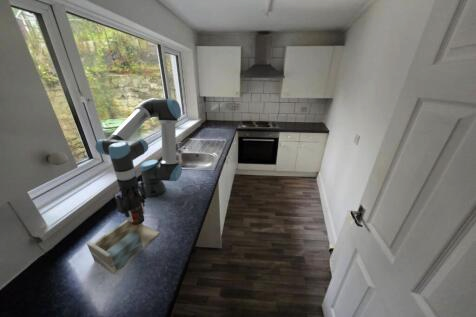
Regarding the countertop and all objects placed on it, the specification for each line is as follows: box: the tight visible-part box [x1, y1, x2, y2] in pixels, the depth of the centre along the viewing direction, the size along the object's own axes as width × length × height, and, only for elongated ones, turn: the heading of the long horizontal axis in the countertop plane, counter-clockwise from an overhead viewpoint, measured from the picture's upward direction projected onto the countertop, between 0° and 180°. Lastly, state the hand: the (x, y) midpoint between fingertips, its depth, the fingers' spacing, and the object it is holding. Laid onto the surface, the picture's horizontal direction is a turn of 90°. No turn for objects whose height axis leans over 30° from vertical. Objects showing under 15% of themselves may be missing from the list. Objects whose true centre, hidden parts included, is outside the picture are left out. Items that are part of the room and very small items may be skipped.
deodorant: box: [128, 194, 145, 225], centre depth 87 cm, size 6×6×15 cm
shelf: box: [86, 219, 161, 275], centre depth 84 cm, size 24×14×11 cm, turn 155°
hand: (136, 216), depth 89 cm, fingers closed on deodorant, 6 cm apart
